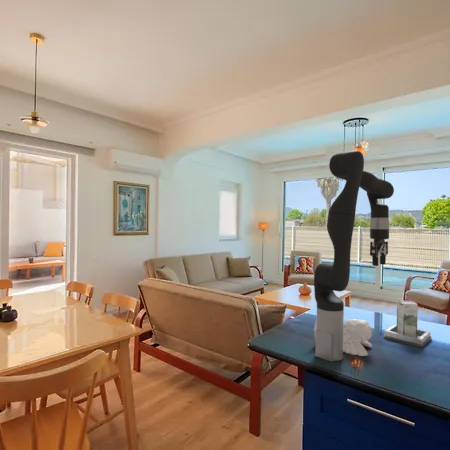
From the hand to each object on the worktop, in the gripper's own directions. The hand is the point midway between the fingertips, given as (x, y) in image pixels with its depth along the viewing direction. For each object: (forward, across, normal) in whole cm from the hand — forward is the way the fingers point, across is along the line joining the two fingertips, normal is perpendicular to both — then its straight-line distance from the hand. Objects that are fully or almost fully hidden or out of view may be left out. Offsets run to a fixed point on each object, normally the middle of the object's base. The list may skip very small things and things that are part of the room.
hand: (379, 265), depth 133 cm
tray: (+30, +3, -10) cm, 32 cm away
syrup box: (+29, +3, -10) cm, 31 cm away
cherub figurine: (+30, -26, +4) cm, 40 cm away
